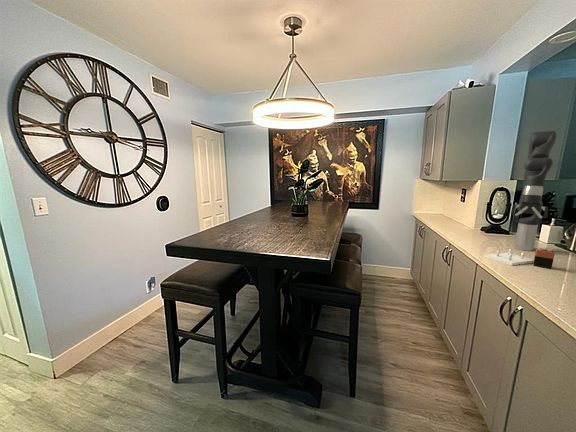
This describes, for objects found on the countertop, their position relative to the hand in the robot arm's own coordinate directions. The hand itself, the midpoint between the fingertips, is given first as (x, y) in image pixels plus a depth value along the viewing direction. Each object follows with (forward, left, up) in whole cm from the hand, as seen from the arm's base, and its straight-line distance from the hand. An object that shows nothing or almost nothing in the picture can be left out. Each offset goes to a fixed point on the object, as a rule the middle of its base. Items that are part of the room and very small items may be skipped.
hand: (526, 223), depth 134 cm
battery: (-4, +8, -23) cm, 24 cm away
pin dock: (+2, -4, -22) cm, 23 cm away
